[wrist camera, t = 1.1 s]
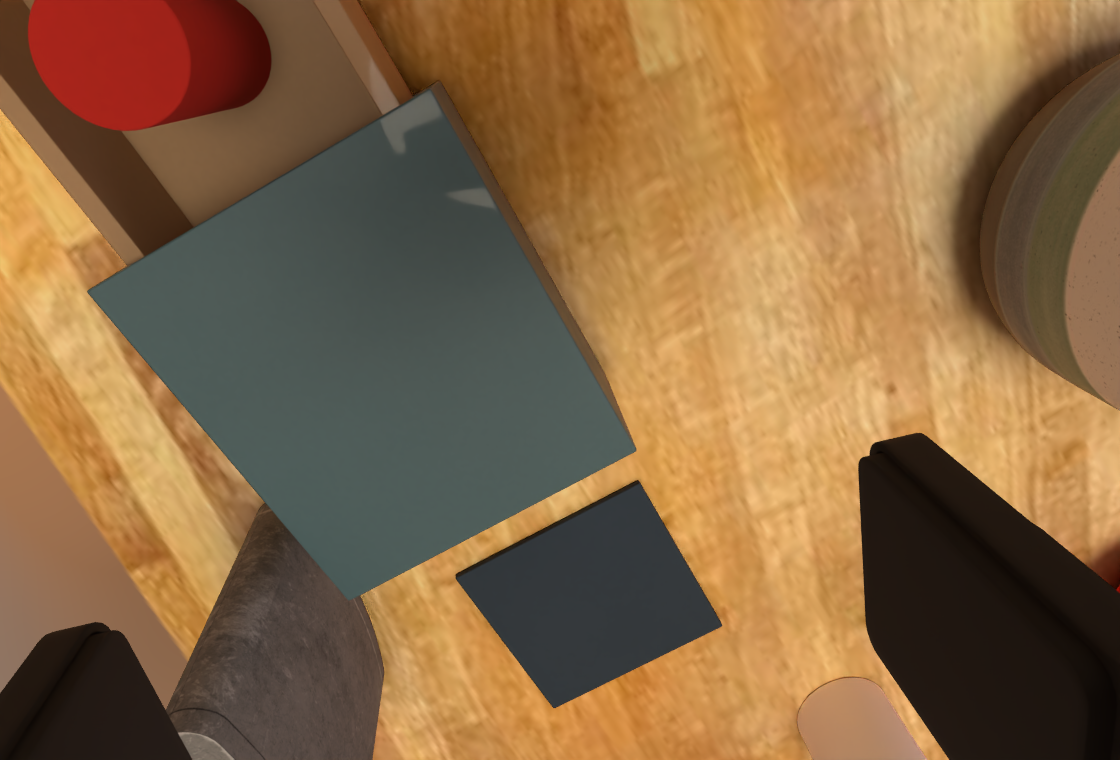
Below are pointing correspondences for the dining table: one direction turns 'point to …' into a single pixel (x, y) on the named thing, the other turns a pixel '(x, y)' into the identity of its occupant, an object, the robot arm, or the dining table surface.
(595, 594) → the mat
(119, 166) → the drawer
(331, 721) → the flask
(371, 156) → the cabinet
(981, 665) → the robot arm
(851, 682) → the candle
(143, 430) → the dining table surface
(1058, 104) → the vase
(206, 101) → the cylinder
